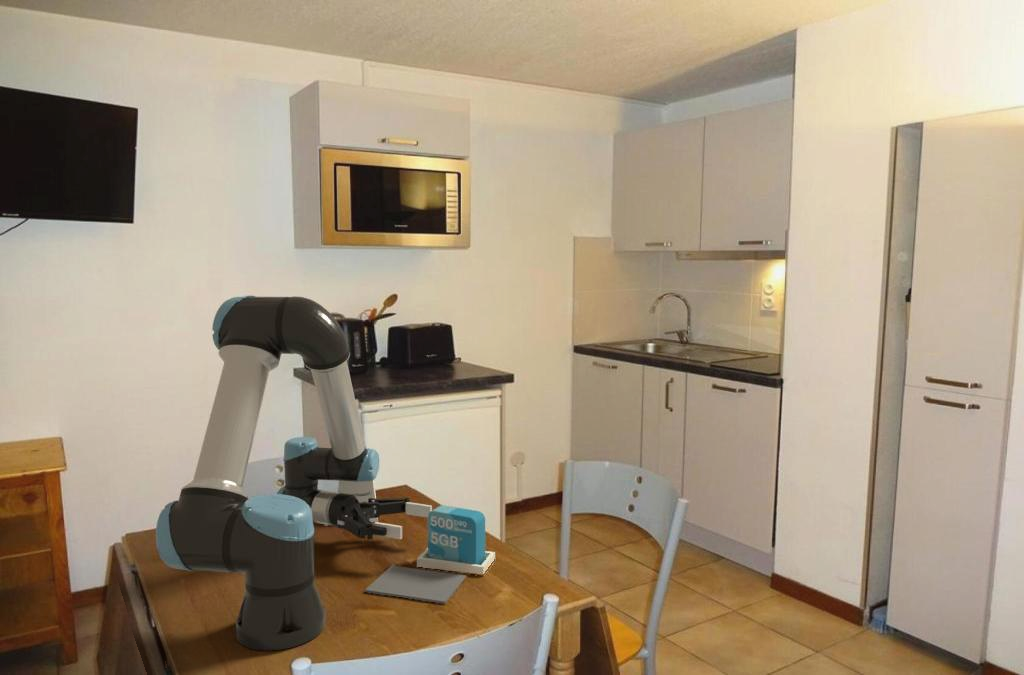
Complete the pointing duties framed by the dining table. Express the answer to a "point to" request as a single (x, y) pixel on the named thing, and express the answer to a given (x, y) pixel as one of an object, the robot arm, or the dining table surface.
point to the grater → (359, 491)
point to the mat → (416, 584)
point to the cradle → (455, 563)
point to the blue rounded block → (456, 535)
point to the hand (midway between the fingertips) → (417, 521)
